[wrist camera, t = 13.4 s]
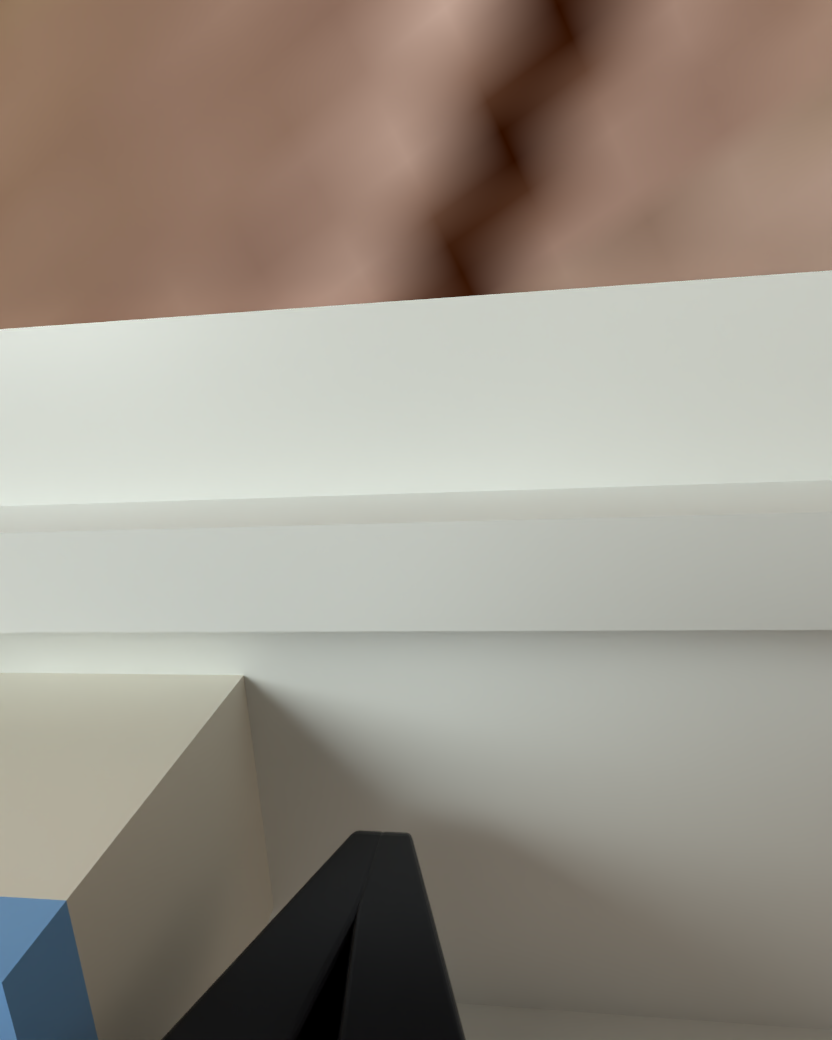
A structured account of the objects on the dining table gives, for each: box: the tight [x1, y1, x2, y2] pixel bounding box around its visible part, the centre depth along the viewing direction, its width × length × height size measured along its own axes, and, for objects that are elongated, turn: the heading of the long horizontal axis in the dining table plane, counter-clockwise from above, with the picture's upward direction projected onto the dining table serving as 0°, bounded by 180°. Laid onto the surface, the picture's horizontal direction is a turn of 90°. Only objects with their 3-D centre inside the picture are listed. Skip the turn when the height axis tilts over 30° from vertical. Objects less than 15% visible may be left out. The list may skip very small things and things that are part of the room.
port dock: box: [0, 271, 832, 1040], centre depth 8 cm, size 14×19×3 cm
